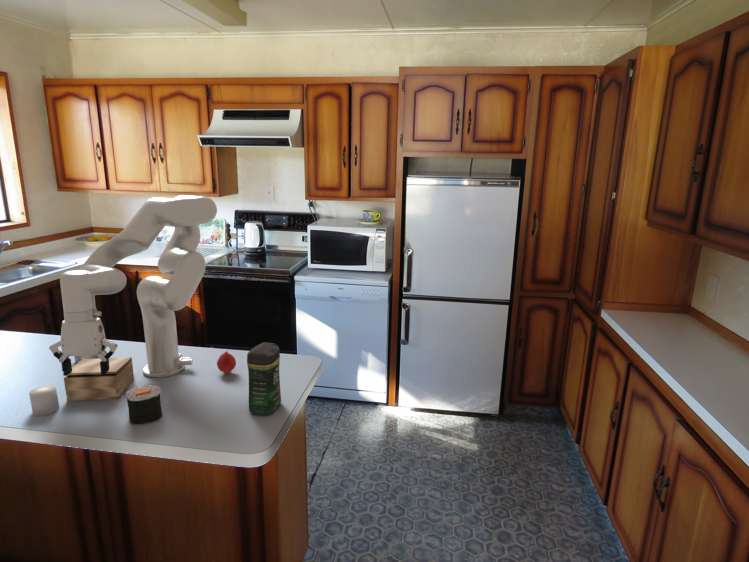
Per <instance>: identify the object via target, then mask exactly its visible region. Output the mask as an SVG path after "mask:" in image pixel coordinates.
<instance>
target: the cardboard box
mask: <svg viewBox="0 0 749 562" xmlns="http://www.w3.org/2000/svg"><path fill="white" fill-rule="evenodd" d="M134 374H135V373H134V366H133V358H132V359H131V360H130V361H129V362H128V363H127V364H126V365H125V366H124V367H123V368H122V369H120V370H119V371H118V372H117V373H116V374H105V375H101V374H90V375H67V376H64V377H63V383H64V390H65V396H66V401H68V402H69V401H87V400H90V401H92V400H111V399H112V400H117V399H120V398H121V397H122V395H124V393H125V392H127V391H126V390H127V389H128V388H129V387H130V386H131V385H132V384H133V382H134V381H135V375H134ZM130 384H131V385H130Z"/></svg>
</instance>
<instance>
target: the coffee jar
mask: <svg viewBox="0 0 749 562" xmlns="http://www.w3.org/2000/svg"><path fill="white" fill-rule="evenodd" d="M280 353H281V352H280V347H279V345H277V344H276V343H274V342H273V343H272V342H265V341H264V342H261V343H259V344H257V345H255V346H254V347H252V348H251V349H250V350H249V351H248V352H247V354H246V356H247V357H246V364H247V370H248V411H249V412H250V413H251V414H253V415H256V416H266V415H267V416H268V415H272V414H273V413H274V412H275V411H277V410H278V408H279V406H280V405H281V403H282V394H281V380H280V379H281V378H280V360H281V356H280V355H281V354H280Z"/></svg>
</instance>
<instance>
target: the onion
mask: <svg viewBox="0 0 749 562" xmlns="http://www.w3.org/2000/svg"><path fill="white" fill-rule="evenodd" d="M236 365H237V361H236V358H235V356H234V355H233V354H231V353H230V352H228V350H225V351H224V352H223V353H222V354H221V355H219V357H218V359H217V361H216V366H217V368H218V370H219V371H220V372H221V373H224V374H225V375H228V373H229V374H230V373H232V371H233V370H234V369H235V368H236Z"/></svg>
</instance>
